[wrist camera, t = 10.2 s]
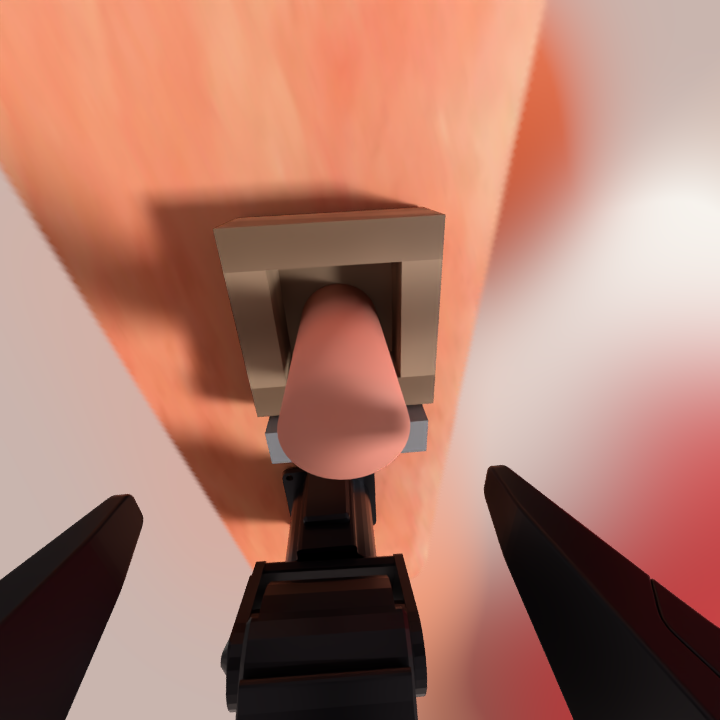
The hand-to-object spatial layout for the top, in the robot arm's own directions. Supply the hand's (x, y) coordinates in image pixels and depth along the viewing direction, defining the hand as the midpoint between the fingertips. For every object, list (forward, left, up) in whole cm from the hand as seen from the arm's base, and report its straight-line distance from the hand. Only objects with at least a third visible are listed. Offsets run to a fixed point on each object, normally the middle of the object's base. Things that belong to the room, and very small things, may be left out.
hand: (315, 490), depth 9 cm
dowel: (0, -1, -11) cm, 11 cm away
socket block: (+1, -1, -12) cm, 12 cm away
